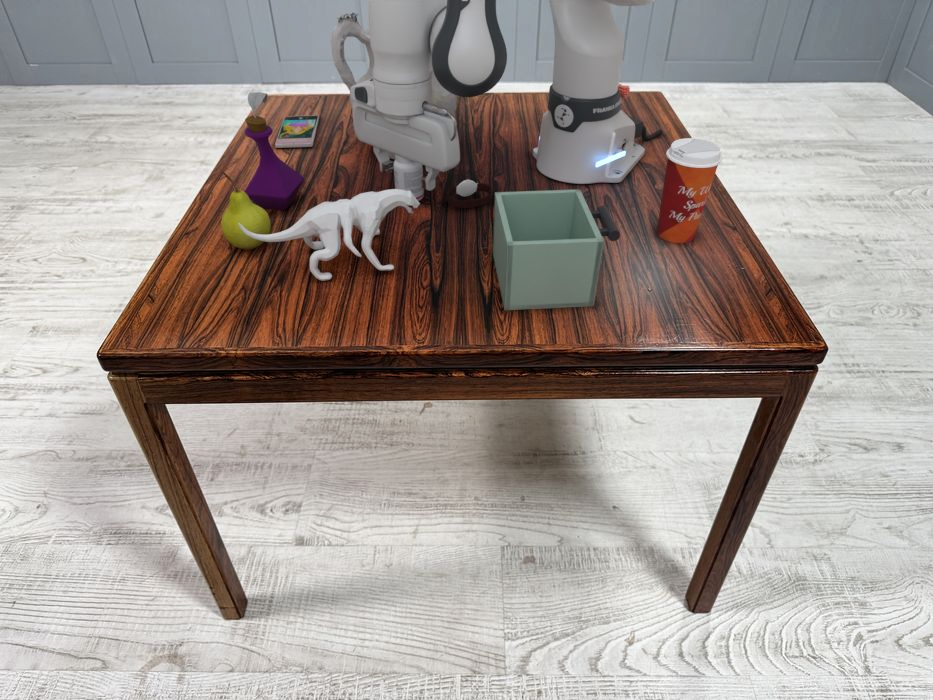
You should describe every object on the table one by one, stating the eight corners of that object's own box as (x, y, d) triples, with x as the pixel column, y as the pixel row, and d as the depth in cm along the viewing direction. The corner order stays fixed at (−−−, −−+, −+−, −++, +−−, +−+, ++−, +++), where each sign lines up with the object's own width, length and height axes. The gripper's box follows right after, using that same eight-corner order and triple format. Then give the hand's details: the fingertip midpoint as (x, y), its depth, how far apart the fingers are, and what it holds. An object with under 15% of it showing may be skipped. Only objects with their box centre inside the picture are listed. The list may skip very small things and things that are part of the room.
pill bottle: (428, 193, 112) (427, 146, 106) (415, 205, 108) (413, 157, 103) (404, 188, 113) (401, 141, 108) (390, 200, 110) (386, 152, 104)
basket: (492, 254, 97) (593, 249, 98) (504, 310, 86) (617, 305, 87) (494, 192, 90) (602, 188, 91) (507, 244, 80) (629, 240, 81)
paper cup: (672, 251, 97) (694, 162, 88) (639, 228, 103) (656, 142, 94) (712, 239, 100) (736, 151, 91) (678, 217, 105) (698, 132, 96)
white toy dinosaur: (432, 268, 94) (429, 205, 87) (253, 297, 88) (236, 233, 82) (412, 227, 103) (409, 168, 96) (249, 252, 97) (233, 190, 91)
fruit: (282, 237, 100) (267, 163, 93) (261, 261, 95) (243, 185, 88) (242, 232, 102) (223, 158, 94) (219, 254, 97) (197, 179, 89)
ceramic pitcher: (379, 187, 116) (373, 39, 99) (323, 144, 126) (309, 4, 109) (473, 156, 126) (483, 17, 109) (415, 118, 137) (415, -13, 120)
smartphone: (319, 115, 137) (312, 143, 125) (319, 118, 137) (313, 147, 126) (284, 116, 136) (274, 144, 125) (285, 119, 137) (275, 148, 125)
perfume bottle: (290, 216, 105) (268, 104, 94) (247, 211, 107) (220, 100, 95) (308, 195, 111) (289, 87, 99) (267, 191, 112) (243, 83, 101)
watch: (486, 193, 112) (487, 173, 109) (495, 205, 108) (496, 185, 106) (443, 199, 110) (443, 179, 108) (451, 212, 107) (450, 192, 104)
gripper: (469, 105, 96) (468, 192, 105) (371, 76, 106) (378, 157, 115) (441, 117, 92) (442, 206, 101) (342, 85, 102) (351, 169, 111)
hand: (407, 180), depth 108 cm, fingers open, 8 cm apart
